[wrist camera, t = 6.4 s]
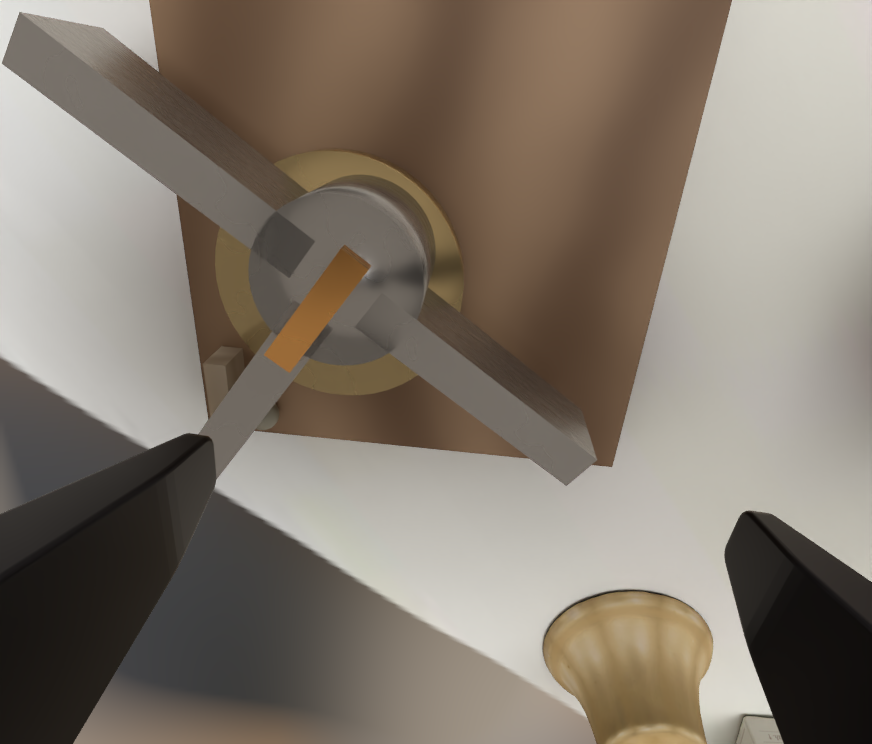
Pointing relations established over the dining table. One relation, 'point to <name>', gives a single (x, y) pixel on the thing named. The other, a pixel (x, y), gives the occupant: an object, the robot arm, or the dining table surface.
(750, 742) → the supplement box
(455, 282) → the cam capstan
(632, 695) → the hand bell
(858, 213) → the dining table surface
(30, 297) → the dining table surface
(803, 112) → the dining table surface
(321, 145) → the stand
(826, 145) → the dining table surface
